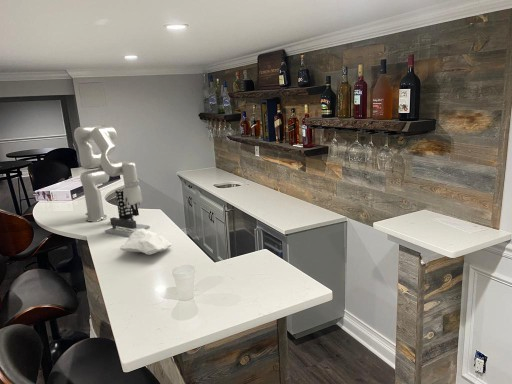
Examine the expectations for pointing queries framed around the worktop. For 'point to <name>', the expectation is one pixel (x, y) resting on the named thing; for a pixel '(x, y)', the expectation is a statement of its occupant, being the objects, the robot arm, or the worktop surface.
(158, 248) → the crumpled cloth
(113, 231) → the label panel
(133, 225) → the swing arm
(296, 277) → the worktop surface
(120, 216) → the white-spotted black cylinder
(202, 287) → the worktop surface
